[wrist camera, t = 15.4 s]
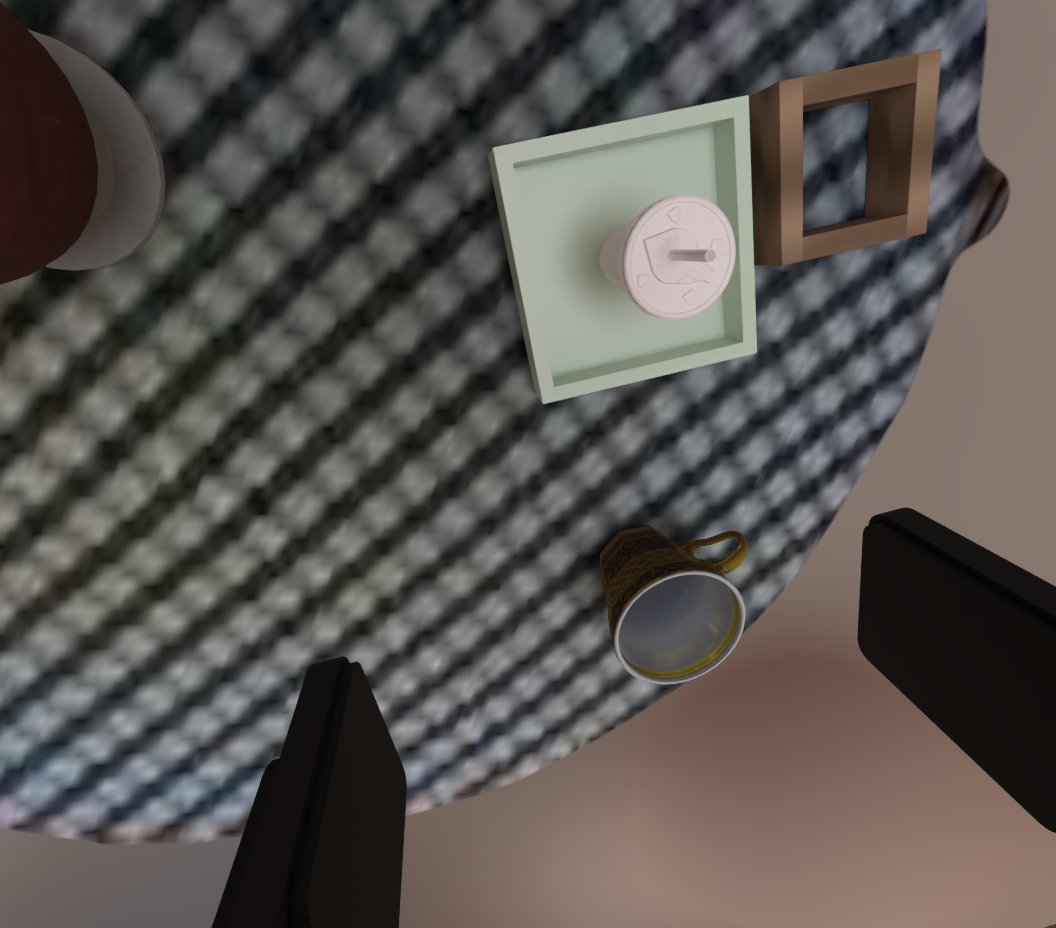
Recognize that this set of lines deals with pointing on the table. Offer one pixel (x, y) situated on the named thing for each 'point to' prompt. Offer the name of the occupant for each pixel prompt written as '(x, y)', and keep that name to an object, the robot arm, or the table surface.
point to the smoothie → (672, 257)
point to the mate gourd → (70, 160)
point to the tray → (598, 211)
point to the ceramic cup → (670, 604)
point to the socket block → (892, 157)
